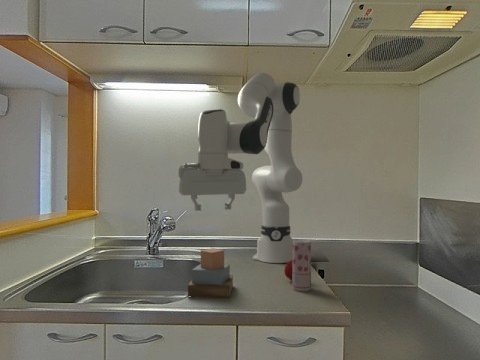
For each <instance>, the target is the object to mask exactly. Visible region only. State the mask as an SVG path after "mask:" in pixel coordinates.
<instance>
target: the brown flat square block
mask: <svg viewBox="0 0 480 360" xmlns="http://www.w3.org/2000/svg"><path fill="white" fill-rule="evenodd" d="M233 282H234V275H232V274H230V277H229V278H228V279H227V280H226V281H225V282H224V283H223V284H222V285H211V284H198V283H192V279H191V280H190V282H189V283H188V284H187V297H188V296H191V297H190V298H195V297H199V298H201V299H202V298H203V299H206V298H207V299H230V298H231V295H232V290H233V286H234V283H233ZM199 298H198V299H199Z"/></svg>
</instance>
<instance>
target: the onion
mask: <svg viewBox="0 0 480 360" xmlns="http://www.w3.org/2000/svg"><path fill="white" fill-rule="evenodd" d="M283 272H284V275H285V276H286V278H287V279H288V280H290V281H291V282H292V272H293V258H292V260H290V261H289V262H286V263H285V266H284V270H283Z"/></svg>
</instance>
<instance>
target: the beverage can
mask: <svg viewBox="0 0 480 360" xmlns="http://www.w3.org/2000/svg"><path fill="white" fill-rule="evenodd" d="M293 240H294V241H293V272H292V281H291V283H292V285H291V287H292V289H293V290H294V291H298V292H309V291H310V290H311V289H312V275H311V274H312V244H311V240H308V239H304V238H303V239H302V238H301V239H293Z"/></svg>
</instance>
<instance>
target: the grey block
mask: <svg viewBox="0 0 480 360" xmlns="http://www.w3.org/2000/svg"><path fill="white" fill-rule="evenodd" d="M230 270H231V268H230V264H227V263H224V267H221V268H217V269H213V270H211V269H207V268H203V267H201V263H199V264H198V265H197V266H195V267H194V268H192V270H191V280H192V283H198V284H211V285H222V284H223V283H224V282H225V281H226V280H227V279H228V278H229V277H230V275H231V274H230V272H231V271H230Z"/></svg>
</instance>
